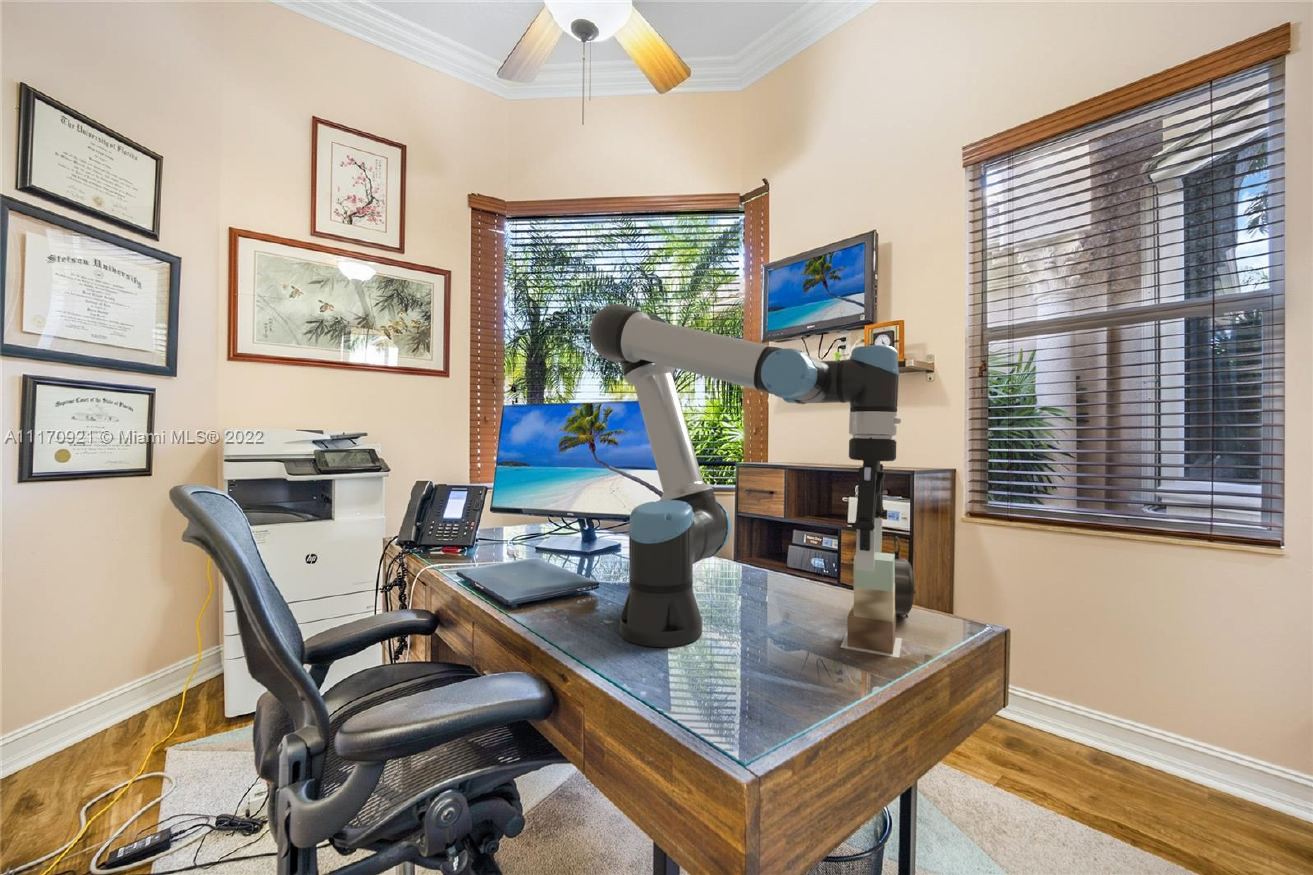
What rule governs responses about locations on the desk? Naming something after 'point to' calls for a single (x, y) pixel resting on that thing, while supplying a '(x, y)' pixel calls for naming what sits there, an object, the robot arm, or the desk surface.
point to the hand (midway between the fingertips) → (869, 561)
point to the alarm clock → (903, 584)
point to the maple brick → (874, 604)
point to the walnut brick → (870, 633)
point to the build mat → (895, 652)
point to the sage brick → (877, 573)
